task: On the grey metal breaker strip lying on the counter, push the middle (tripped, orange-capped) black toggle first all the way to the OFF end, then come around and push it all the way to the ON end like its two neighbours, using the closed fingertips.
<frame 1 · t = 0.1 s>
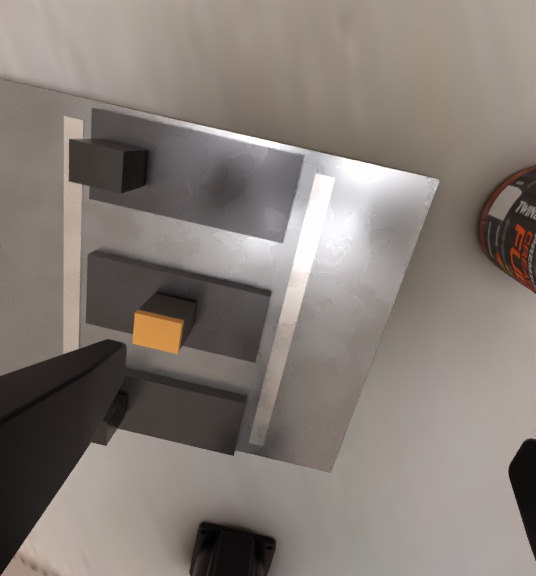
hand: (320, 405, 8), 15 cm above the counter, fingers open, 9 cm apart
tripped breaker handle: (165, 322, 20), point 4 cm above the counter, slide at 3.5 cm
breaker panel: (186, 295, 24), on the counter
supplement bottle: (531, 219, 21), on the counter
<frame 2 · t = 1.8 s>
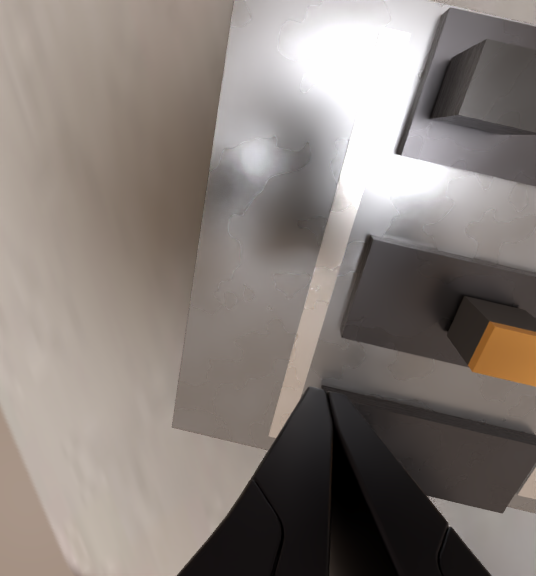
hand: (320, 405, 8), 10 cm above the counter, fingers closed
tripped breaker handle: (500, 338, 14), point 4 cm above the counter, slide at 3.5 cm
breaker panel: (461, 298, 17), on the counter
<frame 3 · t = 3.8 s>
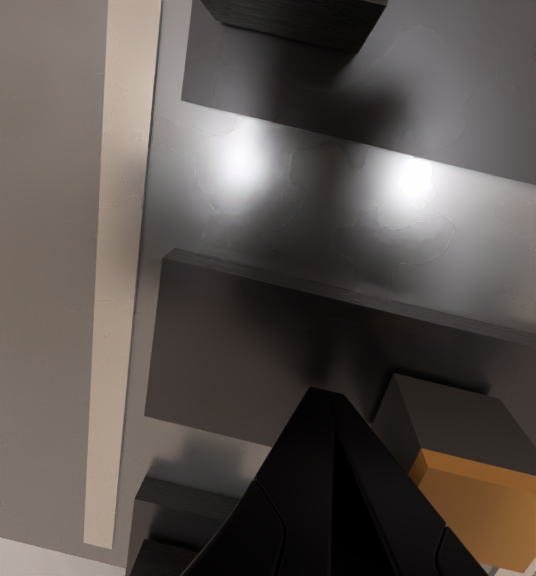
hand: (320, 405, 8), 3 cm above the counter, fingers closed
tripped breaker handle: (450, 461, 8), point 4 cm above the counter, slide at 2.0 cm, touching gripper
breaker panel: (355, 346, 11), on the counter
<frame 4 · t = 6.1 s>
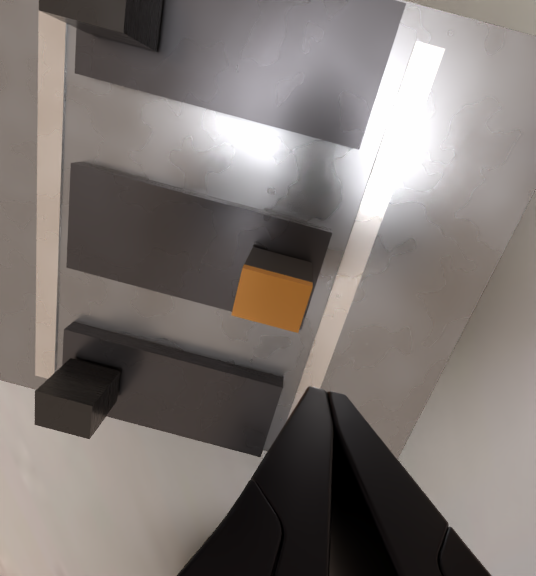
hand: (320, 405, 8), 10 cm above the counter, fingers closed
tripped breaker handle: (274, 287, 14), point 4 cm above the counter, slide at -0.1 cm
breaker panel: (206, 237, 18), on the counter
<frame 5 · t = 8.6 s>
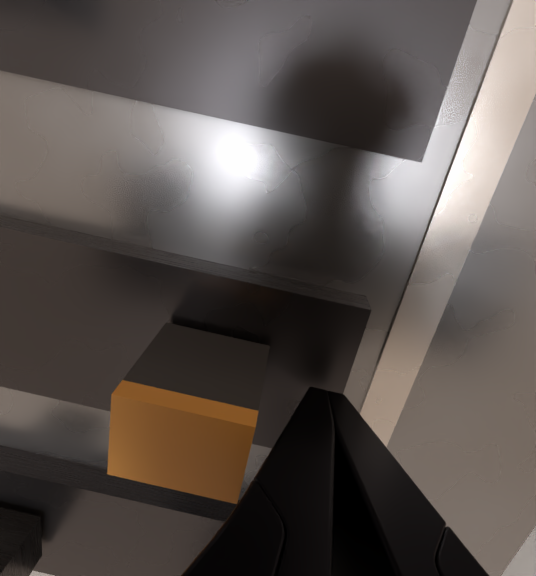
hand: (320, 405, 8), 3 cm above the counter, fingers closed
tripped breaker handle: (197, 402, 8), point 4 cm above the counter, slide at 1.5 cm, touching gripper
breaker panel: (164, 304, 11), on the counter
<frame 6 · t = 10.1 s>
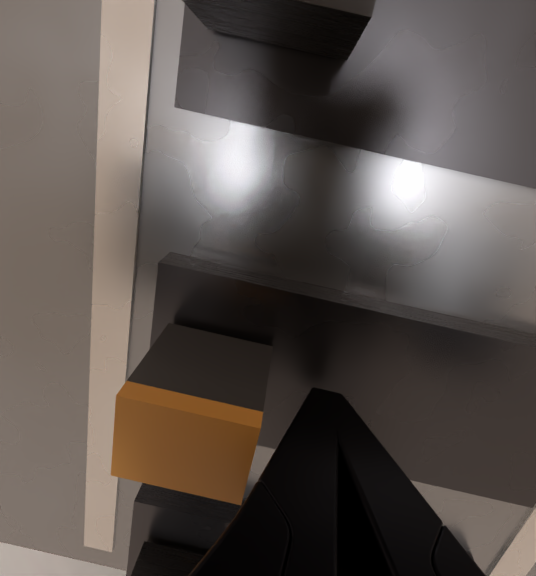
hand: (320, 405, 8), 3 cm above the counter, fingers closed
tripped breaker handle: (200, 403, 8), point 4 cm above the counter, slide at 7.1 cm, touching gripper
breaker panel: (351, 346, 11), on the counter
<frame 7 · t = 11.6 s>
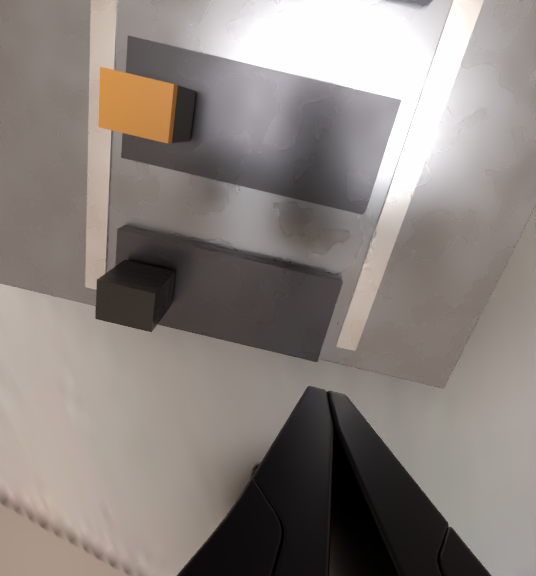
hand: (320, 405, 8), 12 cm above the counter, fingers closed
tripped breaker handle: (150, 107, 14), point 4 cm above the counter, slide at 7.1 cm
breaker panel: (259, 129, 17), on the counter
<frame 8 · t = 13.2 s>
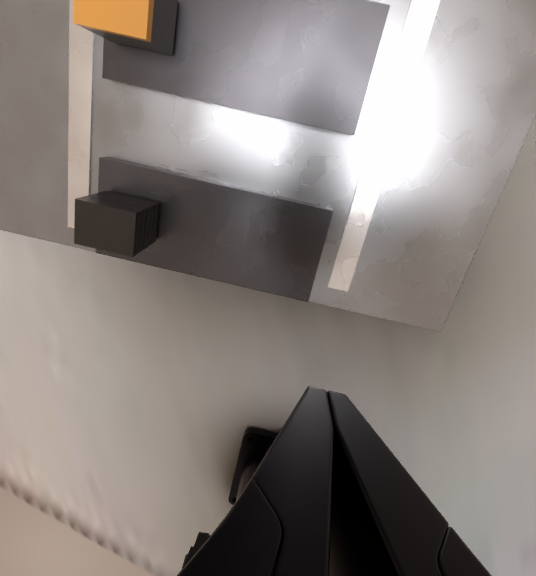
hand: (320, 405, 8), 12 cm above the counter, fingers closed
tripped breaker handle: (129, 10, 13), point 4 cm above the counter, slide at 7.1 cm
breaker panel: (246, 55, 17), on the counter
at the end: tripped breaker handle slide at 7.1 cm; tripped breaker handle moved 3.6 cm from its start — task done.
